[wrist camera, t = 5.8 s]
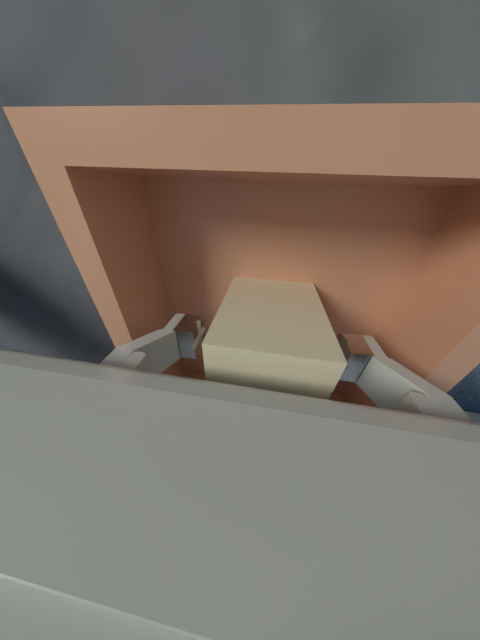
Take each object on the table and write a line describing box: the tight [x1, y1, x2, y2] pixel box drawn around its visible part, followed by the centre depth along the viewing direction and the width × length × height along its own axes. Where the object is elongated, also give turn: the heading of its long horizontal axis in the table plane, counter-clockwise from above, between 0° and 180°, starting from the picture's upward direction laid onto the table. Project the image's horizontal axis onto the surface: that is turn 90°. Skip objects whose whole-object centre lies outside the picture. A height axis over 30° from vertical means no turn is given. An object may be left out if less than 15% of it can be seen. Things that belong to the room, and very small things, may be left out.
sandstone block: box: [202, 276, 347, 400], centre depth 9 cm, size 4×4×6 cm
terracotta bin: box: [3, 103, 480, 408], centre depth 11 cm, size 16×16×5 cm
